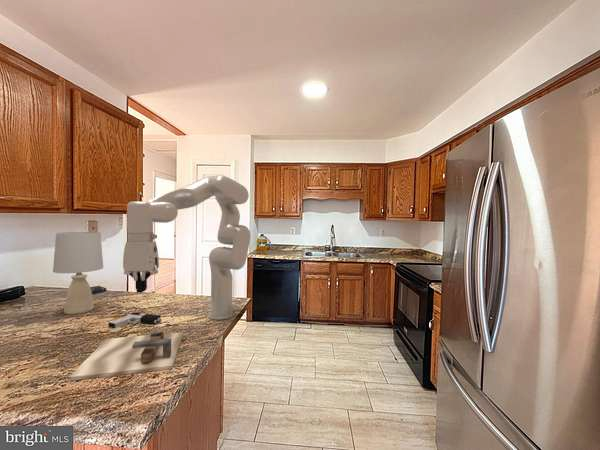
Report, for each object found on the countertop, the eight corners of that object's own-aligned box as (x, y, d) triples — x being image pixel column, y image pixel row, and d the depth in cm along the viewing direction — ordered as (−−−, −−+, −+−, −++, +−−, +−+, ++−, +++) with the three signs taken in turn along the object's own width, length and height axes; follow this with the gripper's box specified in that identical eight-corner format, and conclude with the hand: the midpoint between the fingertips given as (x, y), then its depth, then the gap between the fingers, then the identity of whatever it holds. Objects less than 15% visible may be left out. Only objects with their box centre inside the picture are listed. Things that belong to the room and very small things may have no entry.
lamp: (43, 313, 127) (43, 232, 126) (87, 302, 144) (87, 231, 144) (68, 320, 120) (68, 234, 119) (112, 307, 137) (112, 232, 137)
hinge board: (183, 334, 107) (183, 319, 107) (171, 368, 83) (172, 348, 83) (105, 341, 100) (105, 325, 100) (68, 380, 76) (68, 359, 76)
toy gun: (140, 326, 109) (162, 314, 121) (107, 321, 113) (132, 311, 125) (141, 334, 109) (163, 321, 121) (107, 329, 113) (132, 318, 125)
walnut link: (151, 337, 101) (151, 331, 101) (165, 336, 102) (165, 330, 102) (137, 363, 83) (137, 357, 83) (153, 361, 84) (153, 355, 84)
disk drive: (98, 290, 172) (69, 295, 159) (98, 285, 172) (69, 290, 159) (106, 292, 166) (76, 298, 154) (107, 288, 166) (76, 293, 153)
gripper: (167, 237, 99) (168, 288, 100) (124, 237, 98) (124, 288, 99) (158, 239, 91) (158, 294, 92) (110, 238, 91) (111, 294, 91)
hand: (141, 291), depth 96 cm, fingers closed
